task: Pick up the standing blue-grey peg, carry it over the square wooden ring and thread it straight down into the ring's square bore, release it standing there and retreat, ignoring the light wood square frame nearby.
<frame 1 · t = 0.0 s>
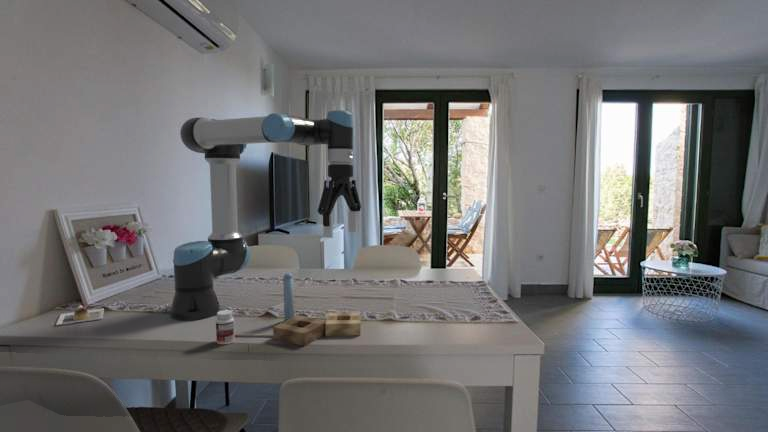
hand: (341, 234, 130), 28 cm above the table, fingers open, 13 cm apart
pill bottle: (225, 342, 119), on the table
blue-grey peg: (289, 321, 136), on the table
thin wooden stick: (249, 336, 123), on the table
light wood square frame: (343, 329, 129), on the table
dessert: (81, 319, 139), on the table
square wooden ring: (301, 335, 124), on the table
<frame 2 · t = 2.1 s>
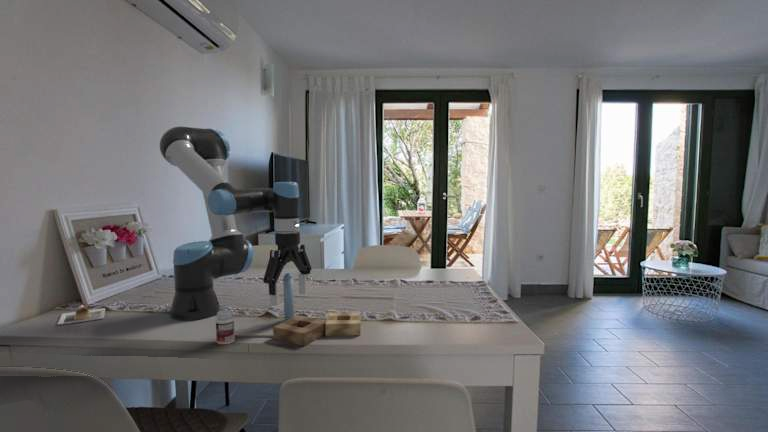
hand: (289, 299, 135), 7 cm above the table, fingers open, 13 cm apart
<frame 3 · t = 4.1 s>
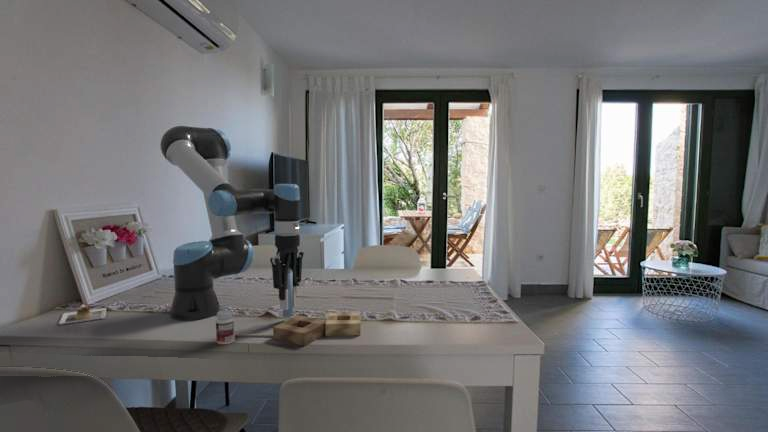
hand: (287, 307, 136), 4 cm above the table, fingers closed on blue-grey peg, 3 cm apart
blue-grey peg: (287, 315, 136), point 2 cm above the table, touching gripper
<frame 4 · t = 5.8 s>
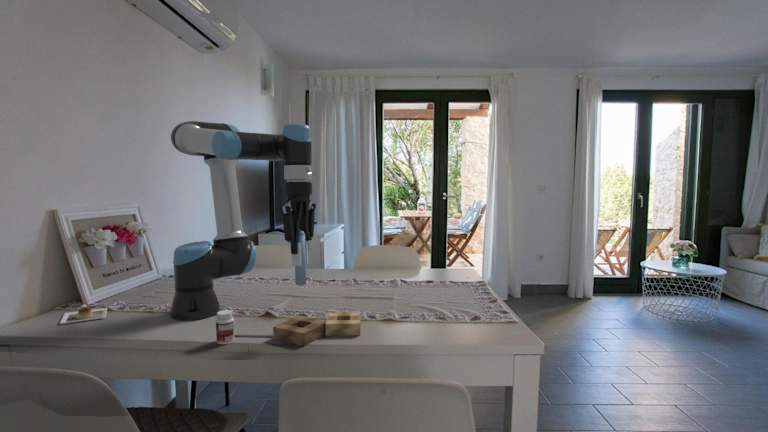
hand: (300, 264, 122), 21 cm above the table, fingers closed on blue-grey peg, 2 cm apart
blue-grey peg: (300, 283, 122), point 15 cm above the table, touching gripper
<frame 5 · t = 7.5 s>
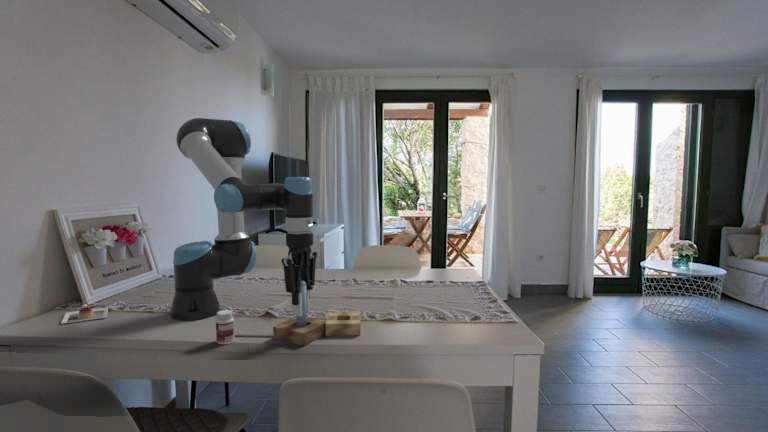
hand: (301, 313, 123), 7 cm above the table, fingers closed on blue-grey peg, 2 cm apart
blue-grey peg: (301, 333, 123), point 1 cm above the table, touching gripper
when the fingers open (5 cm above the table, at t = 8.3 s): blue-grey peg stays where it is, resting in square wooden ring.
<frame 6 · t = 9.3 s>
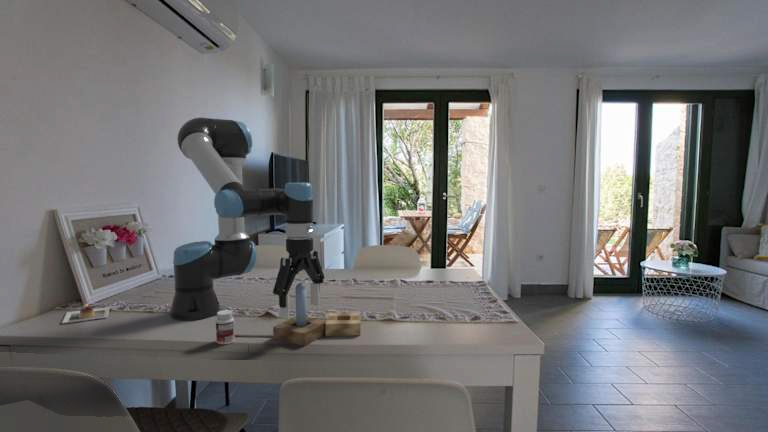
hand: (300, 311, 123), 7 cm above the table, fingers open, 13 cm apart
blue-grey peg: (301, 335, 124), resting in square wooden ring
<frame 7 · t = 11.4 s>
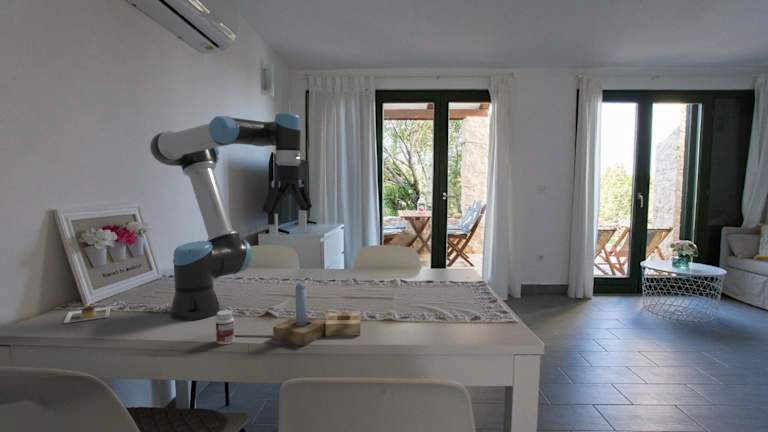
hand: (288, 232, 136), 28 cm above the table, fingers open, 13 cm apart
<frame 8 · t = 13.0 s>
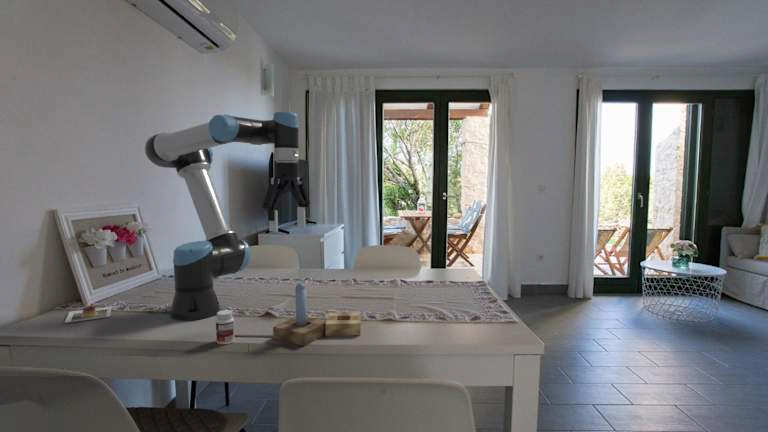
hand: (288, 229, 138), 29 cm above the table, fingers open, 13 cm apart
at the end: blue-grey peg 0.1 cm off-centre on the square wooden ring, point 0.0 cm above the square wooden ring's base; blue-grey peg tilted 0°; the gripper is holding nothing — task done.
